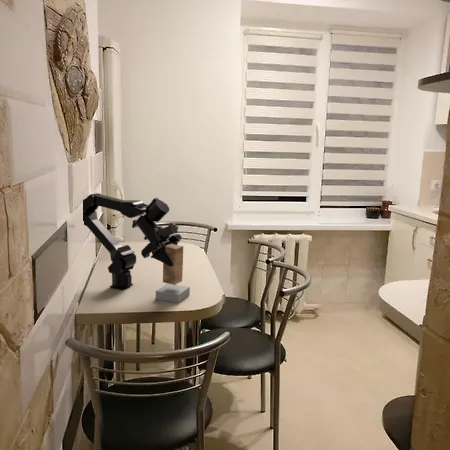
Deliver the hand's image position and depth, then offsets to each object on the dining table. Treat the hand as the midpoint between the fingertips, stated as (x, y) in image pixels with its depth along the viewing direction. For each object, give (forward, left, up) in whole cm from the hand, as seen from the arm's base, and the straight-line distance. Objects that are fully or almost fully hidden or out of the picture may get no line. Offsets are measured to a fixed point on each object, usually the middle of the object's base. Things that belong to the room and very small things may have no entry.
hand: (176, 264), depth 158 cm
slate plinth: (-1, 0, -12) cm, 12 cm away
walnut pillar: (-1, 0, -7) cm, 7 cm away
